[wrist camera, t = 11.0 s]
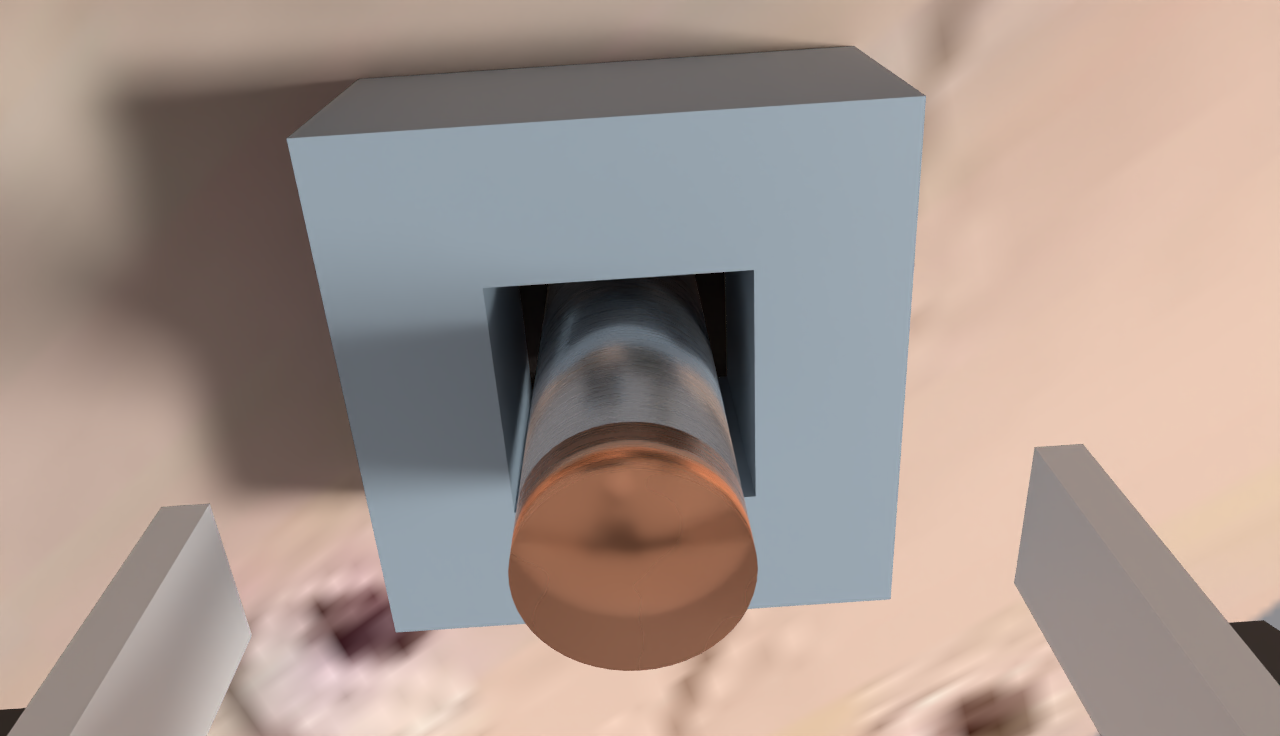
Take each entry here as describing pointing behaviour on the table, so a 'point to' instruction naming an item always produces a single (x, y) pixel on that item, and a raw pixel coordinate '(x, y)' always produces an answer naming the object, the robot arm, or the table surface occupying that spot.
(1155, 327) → the table surface
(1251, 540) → the table surface
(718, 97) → the socket
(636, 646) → the lock pin
